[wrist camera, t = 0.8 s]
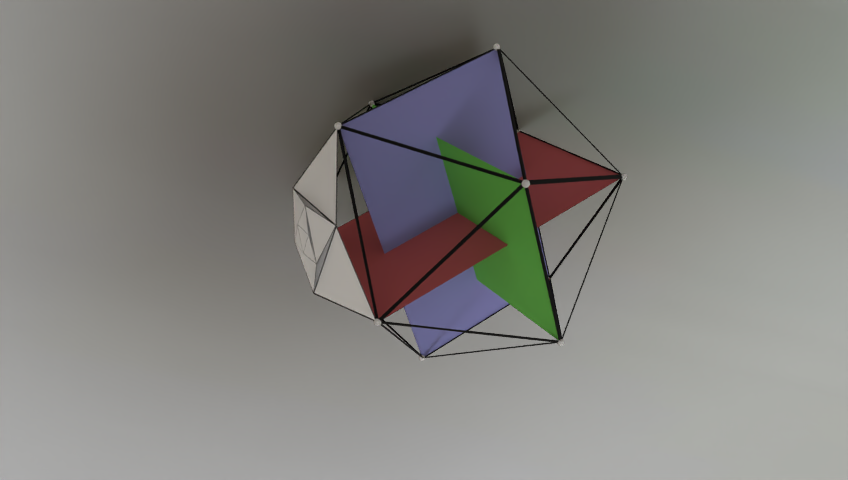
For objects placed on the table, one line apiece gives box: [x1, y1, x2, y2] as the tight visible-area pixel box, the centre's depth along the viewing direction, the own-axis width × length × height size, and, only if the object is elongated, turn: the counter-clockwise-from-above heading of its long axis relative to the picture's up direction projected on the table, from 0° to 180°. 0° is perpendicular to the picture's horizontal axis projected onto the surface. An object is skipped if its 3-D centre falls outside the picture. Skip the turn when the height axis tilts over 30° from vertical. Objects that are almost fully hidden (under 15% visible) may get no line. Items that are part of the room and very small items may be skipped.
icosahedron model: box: [293, 44, 627, 361], centre depth 18 cm, size 7×7×8 cm
